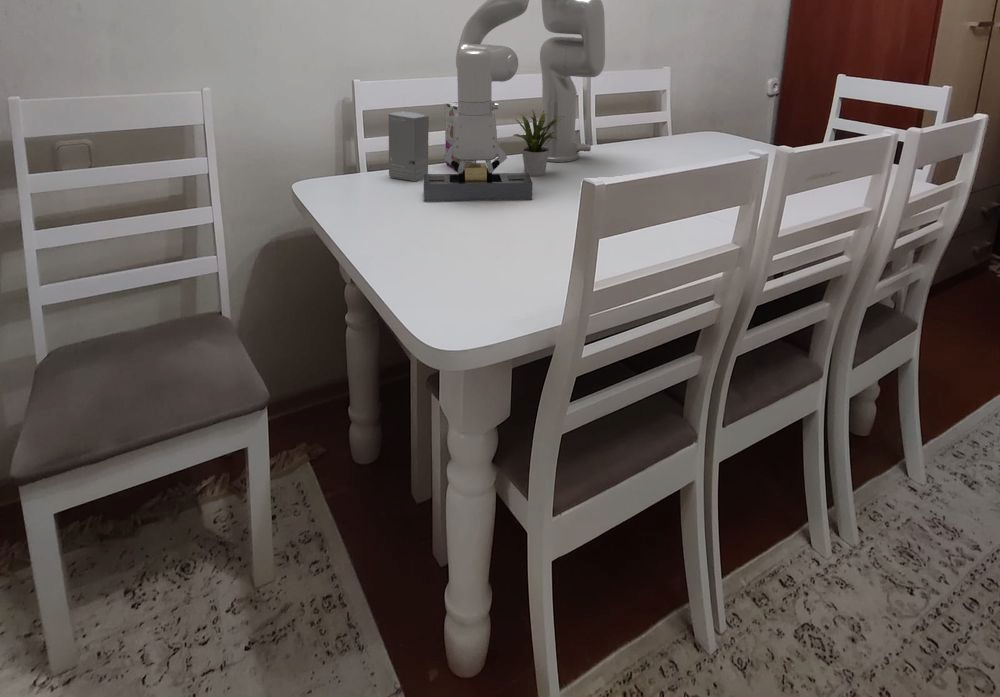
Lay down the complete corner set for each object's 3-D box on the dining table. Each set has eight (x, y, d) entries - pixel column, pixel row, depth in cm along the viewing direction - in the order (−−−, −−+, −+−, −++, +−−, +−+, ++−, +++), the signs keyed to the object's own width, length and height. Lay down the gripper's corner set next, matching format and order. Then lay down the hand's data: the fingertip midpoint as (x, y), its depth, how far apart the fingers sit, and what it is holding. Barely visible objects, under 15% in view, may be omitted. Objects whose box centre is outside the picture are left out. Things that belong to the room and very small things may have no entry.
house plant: (565, 182, 179) (568, 115, 171) (510, 181, 179) (511, 114, 172) (562, 168, 192) (565, 105, 184) (510, 167, 192) (511, 104, 184)
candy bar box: (477, 172, 187) (477, 107, 180) (460, 173, 186) (459, 108, 178) (462, 162, 196) (461, 100, 189) (445, 164, 194) (443, 102, 187)
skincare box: (388, 178, 181) (384, 113, 174) (404, 172, 187) (401, 109, 179) (416, 182, 178) (413, 117, 170) (431, 176, 183) (429, 112, 176)
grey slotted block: (527, 189, 173) (528, 172, 171) (532, 199, 165) (532, 181, 163) (424, 190, 171) (424, 173, 169) (424, 201, 163) (423, 183, 161)
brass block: (485, 187, 170) (485, 161, 167) (486, 193, 165) (486, 167, 163) (464, 188, 170) (464, 162, 167) (465, 193, 165) (464, 167, 162)
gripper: (511, 105, 163) (510, 184, 171) (436, 105, 161) (439, 184, 170) (514, 111, 156) (512, 192, 165) (436, 111, 155) (439, 193, 163)
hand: (475, 187), depth 167 cm, fingers closed on brass block, 5 cm apart
